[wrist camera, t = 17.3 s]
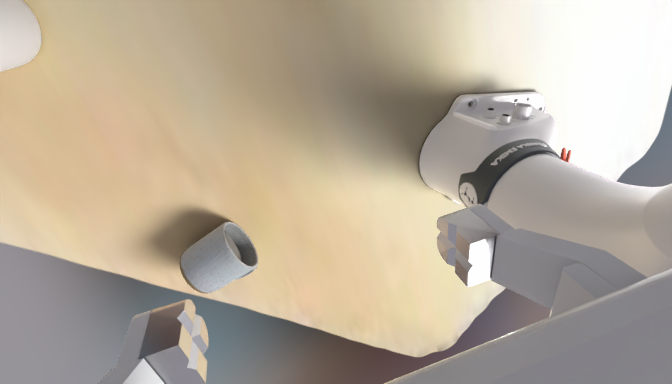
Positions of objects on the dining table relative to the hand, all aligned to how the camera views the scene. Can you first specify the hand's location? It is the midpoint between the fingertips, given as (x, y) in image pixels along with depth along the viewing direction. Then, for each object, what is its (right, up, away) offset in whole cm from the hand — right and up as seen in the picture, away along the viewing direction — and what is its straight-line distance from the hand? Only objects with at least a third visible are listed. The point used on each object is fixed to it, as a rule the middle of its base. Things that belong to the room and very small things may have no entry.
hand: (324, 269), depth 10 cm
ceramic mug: (-16, -6, +39) cm, 43 cm away
